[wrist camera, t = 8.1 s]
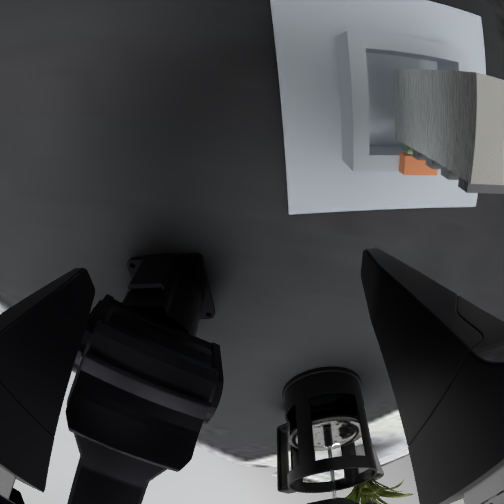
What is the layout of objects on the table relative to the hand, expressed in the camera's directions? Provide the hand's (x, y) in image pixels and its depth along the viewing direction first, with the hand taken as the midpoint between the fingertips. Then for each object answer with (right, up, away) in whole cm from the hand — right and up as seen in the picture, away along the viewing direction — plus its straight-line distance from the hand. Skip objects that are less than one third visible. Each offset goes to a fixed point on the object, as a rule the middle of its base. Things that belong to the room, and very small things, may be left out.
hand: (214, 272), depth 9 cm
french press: (+9, -16, +25) cm, 31 cm away
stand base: (+11, +11, +8) cm, 17 cm away
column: (+11, +9, +5) cm, 15 cm away
